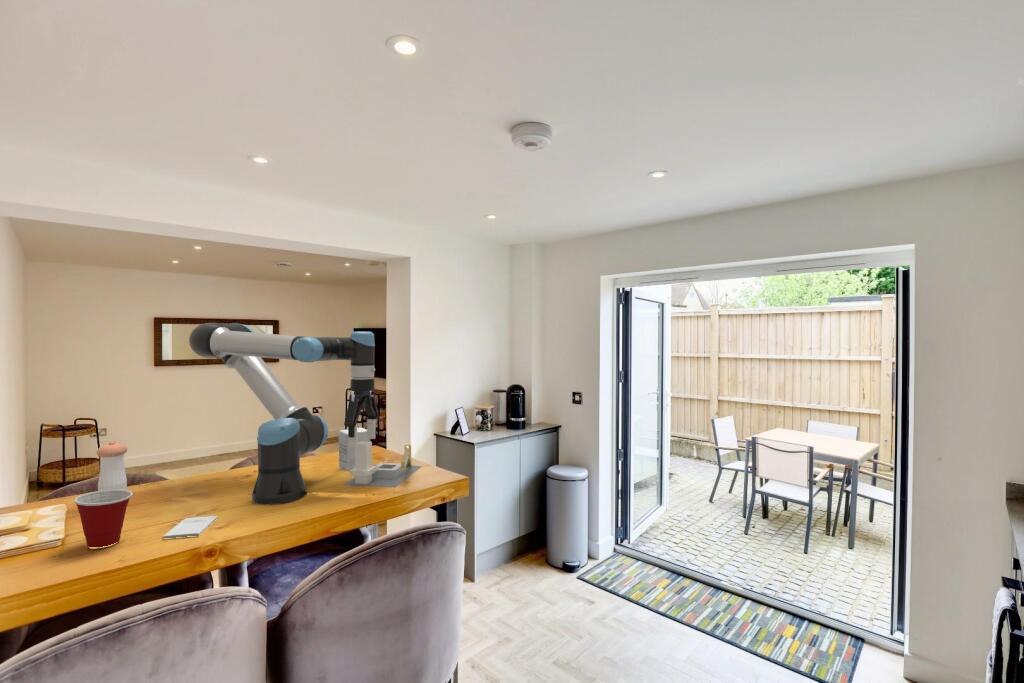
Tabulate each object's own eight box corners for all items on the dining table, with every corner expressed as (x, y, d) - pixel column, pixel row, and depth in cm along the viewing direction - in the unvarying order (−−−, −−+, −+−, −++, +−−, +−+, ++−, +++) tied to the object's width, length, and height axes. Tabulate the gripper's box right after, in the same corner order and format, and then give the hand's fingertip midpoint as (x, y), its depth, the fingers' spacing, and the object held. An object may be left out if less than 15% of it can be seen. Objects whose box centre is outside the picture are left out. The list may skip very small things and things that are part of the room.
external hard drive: (161, 542, 120) (184, 523, 132) (199, 539, 122) (218, 520, 134) (161, 536, 120) (184, 517, 132) (199, 532, 122) (217, 515, 134)
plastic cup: (112, 553, 112) (111, 501, 112) (61, 555, 111) (61, 503, 111) (144, 534, 123) (143, 487, 123) (98, 536, 122) (97, 488, 122)
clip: (399, 484, 157) (399, 461, 157) (404, 464, 182) (404, 445, 182) (406, 484, 158) (406, 461, 158) (411, 464, 183) (411, 444, 183)
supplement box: (361, 465, 189) (361, 427, 189) (371, 470, 182) (371, 430, 182) (338, 470, 183) (337, 429, 183) (347, 475, 176) (346, 433, 176)
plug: (350, 484, 159) (349, 444, 159) (359, 479, 165) (358, 440, 165) (368, 485, 158) (368, 445, 158) (377, 479, 164) (376, 441, 164)
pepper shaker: (116, 510, 141) (116, 443, 141) (90, 511, 141) (89, 444, 141) (134, 501, 148) (133, 438, 148) (109, 502, 148) (108, 439, 148)
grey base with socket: (342, 489, 159) (342, 476, 159) (376, 468, 184) (375, 456, 184) (395, 492, 156) (395, 477, 156) (422, 470, 182) (422, 458, 182)
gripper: (355, 381, 149) (355, 451, 149) (388, 375, 173) (388, 435, 173) (332, 381, 150) (332, 450, 150) (368, 375, 174) (368, 434, 175)
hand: (362, 442), depth 162 cm, fingers open, 13 cm apart
